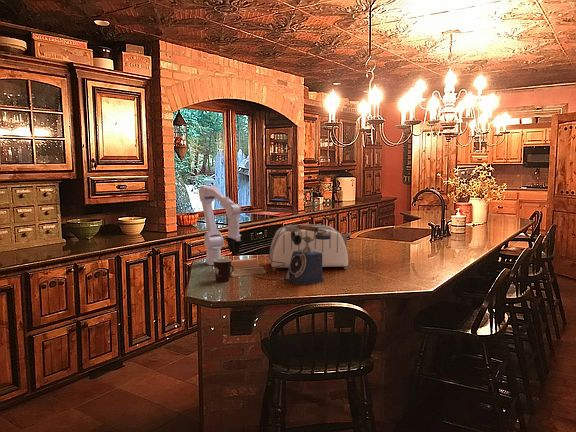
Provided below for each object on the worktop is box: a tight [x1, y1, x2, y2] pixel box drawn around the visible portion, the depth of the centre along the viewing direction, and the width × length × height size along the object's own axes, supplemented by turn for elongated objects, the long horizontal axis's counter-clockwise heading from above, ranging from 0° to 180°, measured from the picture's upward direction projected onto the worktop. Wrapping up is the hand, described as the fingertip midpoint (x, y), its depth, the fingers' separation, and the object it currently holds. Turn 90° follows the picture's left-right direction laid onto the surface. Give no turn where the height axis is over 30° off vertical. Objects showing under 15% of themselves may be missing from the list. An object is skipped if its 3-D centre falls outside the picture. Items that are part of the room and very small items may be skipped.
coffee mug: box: [213, 257, 234, 283], centre depth 229 cm, size 12×9×10 cm
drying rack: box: [230, 264, 267, 278], centre depth 250 cm, size 17×18×3 cm
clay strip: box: [231, 257, 258, 268], centre depth 249 cm, size 2×14×5 cm, turn 116°
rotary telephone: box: [256, 224, 331, 286], centre depth 232 cm, size 41×22×27 cm, turn 38°
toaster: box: [268, 223, 352, 272], centre depth 261 cm, size 21×45×22 cm, turn 95°
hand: (233, 252), depth 253 cm, fingers open, 7 cm apart
